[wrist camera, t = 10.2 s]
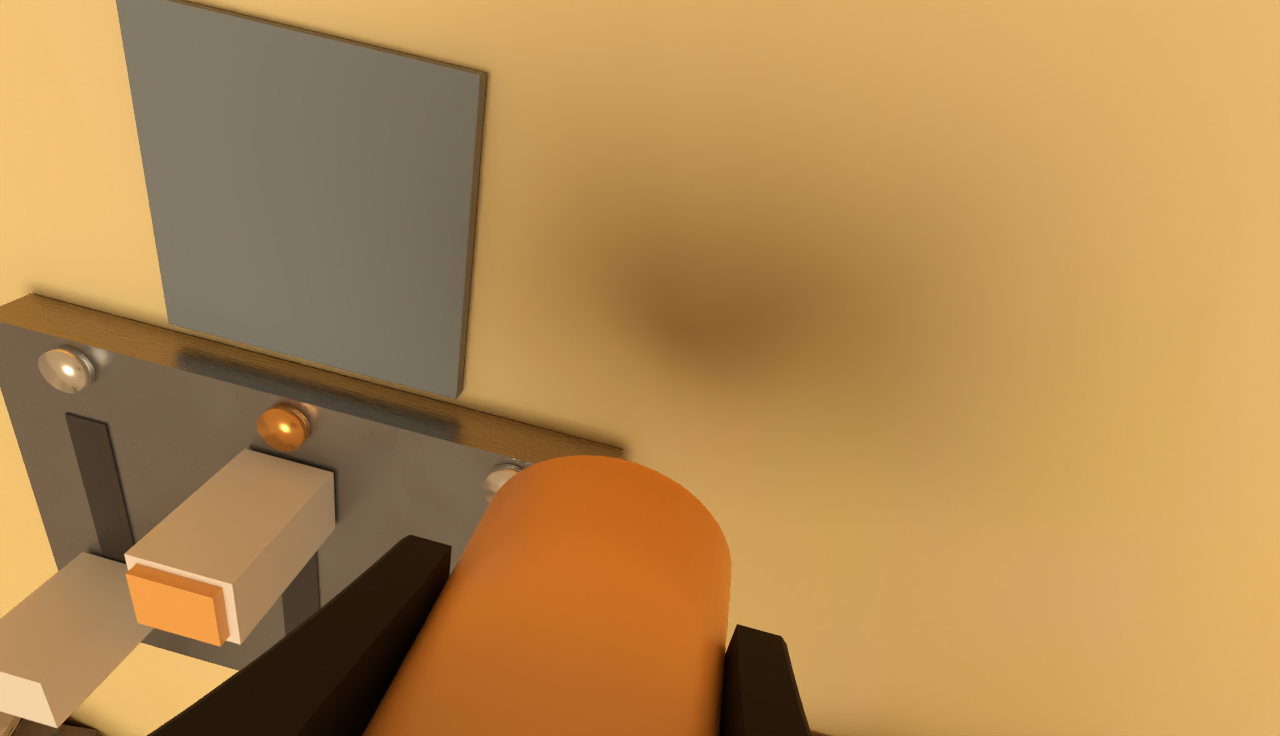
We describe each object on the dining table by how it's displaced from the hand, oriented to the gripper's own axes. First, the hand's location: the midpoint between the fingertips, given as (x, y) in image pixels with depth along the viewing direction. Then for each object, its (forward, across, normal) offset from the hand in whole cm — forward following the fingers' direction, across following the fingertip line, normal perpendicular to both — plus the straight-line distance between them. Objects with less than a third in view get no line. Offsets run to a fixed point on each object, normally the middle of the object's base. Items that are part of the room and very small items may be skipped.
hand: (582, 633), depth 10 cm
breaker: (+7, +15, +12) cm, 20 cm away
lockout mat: (+8, +9, -2) cm, 12 cm away
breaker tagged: (+7, +9, +6) cm, 13 cm away
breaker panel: (+8, +9, +9) cm, 15 cm away
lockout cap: (+2, 0, 0) cm, 2 cm away
